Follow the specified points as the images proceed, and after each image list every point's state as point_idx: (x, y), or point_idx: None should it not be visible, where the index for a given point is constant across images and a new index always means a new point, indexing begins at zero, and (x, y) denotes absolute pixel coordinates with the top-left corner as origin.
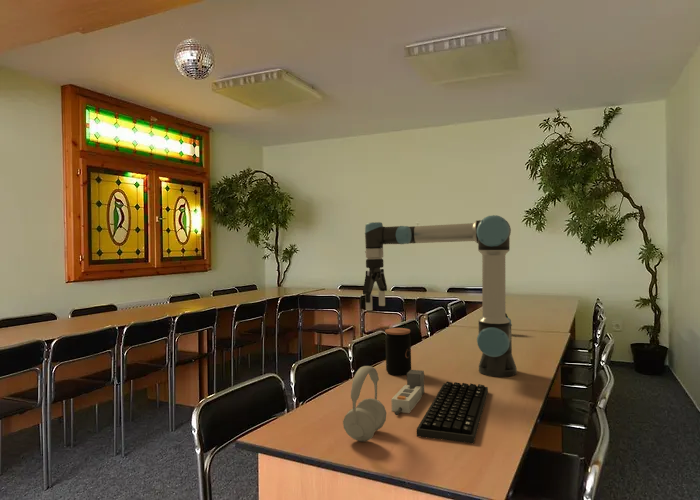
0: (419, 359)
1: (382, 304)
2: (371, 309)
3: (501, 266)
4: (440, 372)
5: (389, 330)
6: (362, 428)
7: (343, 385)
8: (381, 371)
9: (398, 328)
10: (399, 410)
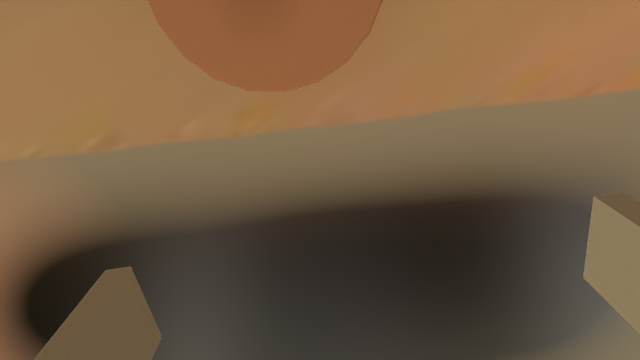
0: (17, 23)
1: (133, 308)
2: (634, 202)
3: None
4: None
5: (316, 35)
6: None
7: (576, 95)
8: None
9: (185, 11)
10: None
